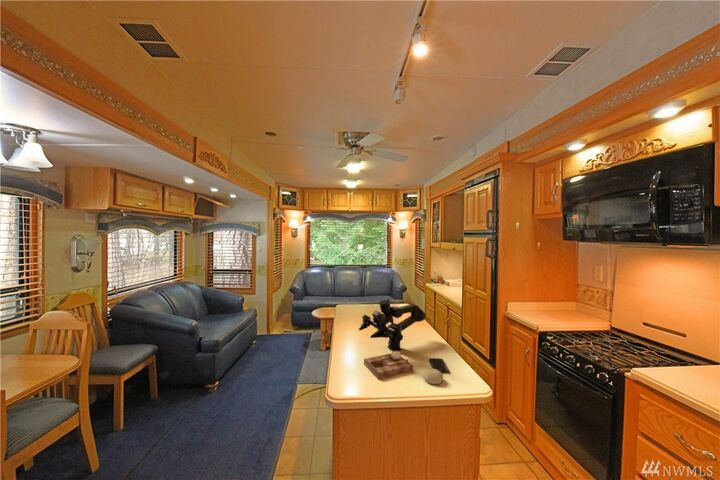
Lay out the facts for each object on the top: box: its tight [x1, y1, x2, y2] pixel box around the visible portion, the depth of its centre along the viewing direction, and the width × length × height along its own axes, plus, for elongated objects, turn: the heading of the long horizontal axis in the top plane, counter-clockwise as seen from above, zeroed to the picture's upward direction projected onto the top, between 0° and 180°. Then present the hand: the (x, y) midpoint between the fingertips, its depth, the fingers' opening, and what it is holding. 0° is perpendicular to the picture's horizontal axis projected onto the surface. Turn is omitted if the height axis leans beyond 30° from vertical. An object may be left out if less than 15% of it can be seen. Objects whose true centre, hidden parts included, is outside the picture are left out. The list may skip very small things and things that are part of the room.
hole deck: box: [363, 352, 414, 380], centre depth 141 cm, size 20×16×4 cm
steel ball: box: [390, 350, 402, 361], centre depth 143 cm, size 5×5×5 cm
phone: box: [428, 357, 451, 374], centre depth 144 cm, size 8×1×15 cm
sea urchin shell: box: [422, 368, 444, 385], centre depth 130 cm, size 9×8×8 cm
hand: (364, 333), depth 148 cm, fingers open, 9 cm apart
